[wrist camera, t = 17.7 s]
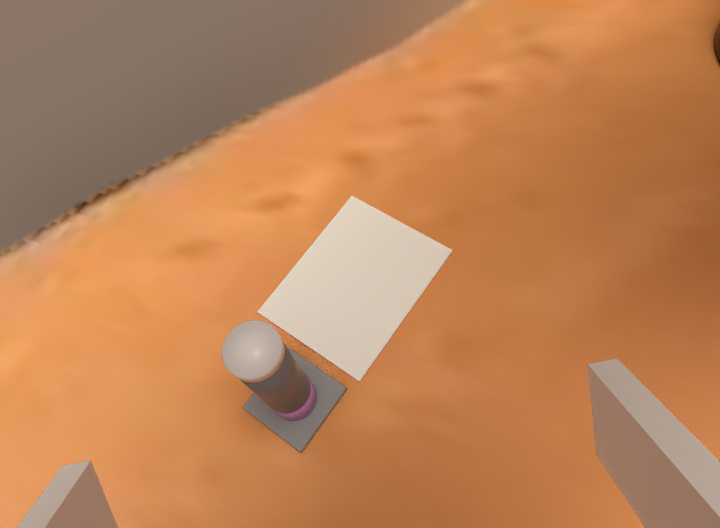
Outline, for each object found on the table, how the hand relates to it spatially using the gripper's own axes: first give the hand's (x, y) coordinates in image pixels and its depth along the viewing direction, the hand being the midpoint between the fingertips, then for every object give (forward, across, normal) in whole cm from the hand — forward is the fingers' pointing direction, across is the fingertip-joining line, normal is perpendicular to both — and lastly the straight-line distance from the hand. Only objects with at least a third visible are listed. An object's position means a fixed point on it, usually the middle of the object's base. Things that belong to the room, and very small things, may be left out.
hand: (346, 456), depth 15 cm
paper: (+35, -1, -7) cm, 36 cm away
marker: (+28, -7, -13) cm, 32 cm away
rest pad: (+28, -7, -14) cm, 32 cm away
